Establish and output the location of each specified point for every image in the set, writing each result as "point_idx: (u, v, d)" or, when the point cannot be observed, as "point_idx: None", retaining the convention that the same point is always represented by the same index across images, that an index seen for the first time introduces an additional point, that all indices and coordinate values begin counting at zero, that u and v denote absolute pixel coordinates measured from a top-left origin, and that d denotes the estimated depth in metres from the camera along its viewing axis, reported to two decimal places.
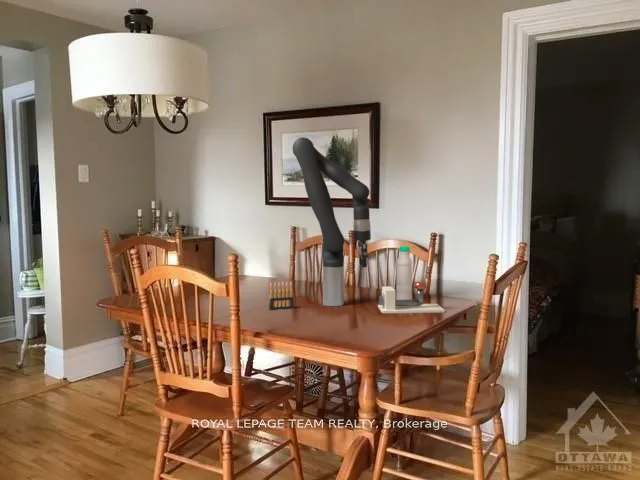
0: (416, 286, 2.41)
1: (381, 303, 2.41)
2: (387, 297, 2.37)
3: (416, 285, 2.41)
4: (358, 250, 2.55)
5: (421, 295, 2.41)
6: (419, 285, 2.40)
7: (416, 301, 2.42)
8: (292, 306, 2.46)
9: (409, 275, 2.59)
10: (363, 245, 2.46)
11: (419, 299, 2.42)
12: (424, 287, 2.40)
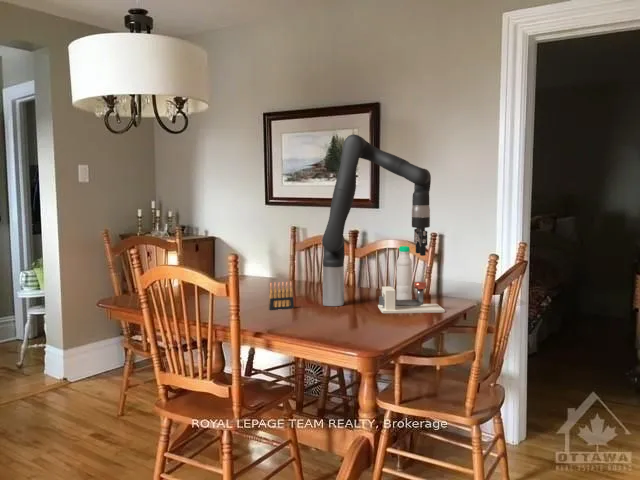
0: (416, 286, 2.41)
1: (381, 303, 2.41)
2: (387, 297, 2.37)
3: (416, 285, 2.41)
4: (415, 238, 2.43)
5: (421, 295, 2.41)
6: (419, 285, 2.40)
7: (416, 301, 2.42)
8: (292, 306, 2.46)
9: (409, 275, 2.59)
10: (423, 232, 2.33)
11: (419, 299, 2.42)
12: (424, 287, 2.40)
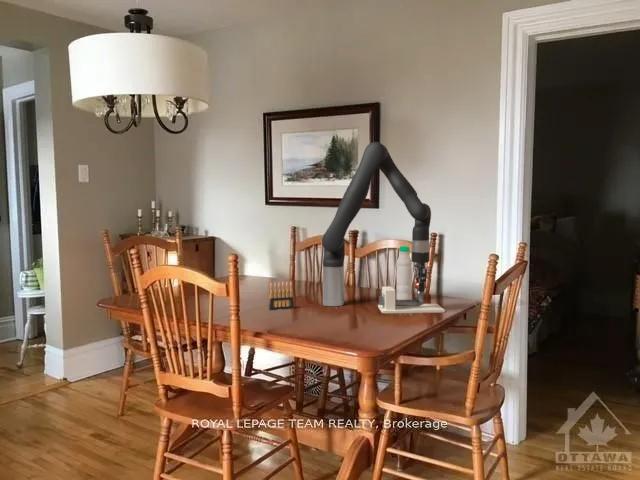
0: (416, 286, 2.41)
1: (381, 303, 2.41)
2: (387, 297, 2.37)
3: (416, 285, 2.41)
4: (415, 272, 2.43)
5: (421, 295, 2.41)
6: None
7: (416, 301, 2.42)
8: (292, 306, 2.46)
9: (409, 275, 2.59)
10: (423, 270, 2.35)
11: (419, 299, 2.42)
12: (424, 287, 2.40)
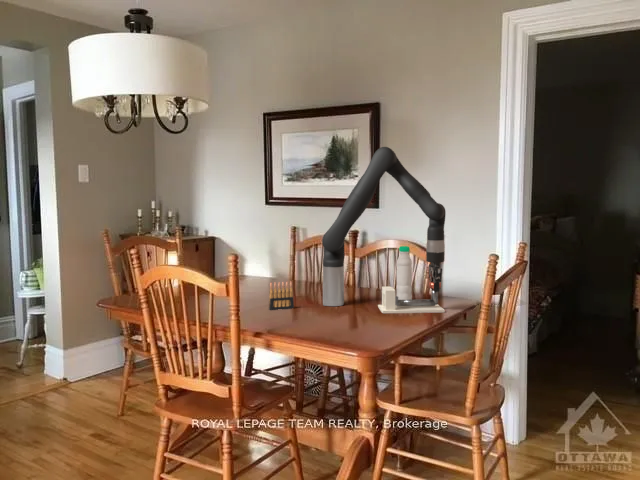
0: (431, 286, 2.41)
1: (396, 303, 2.42)
2: (387, 297, 2.37)
3: (431, 285, 2.41)
4: (430, 272, 2.43)
5: (436, 295, 2.42)
6: None
7: (431, 301, 2.42)
8: (292, 306, 2.46)
9: (409, 275, 2.59)
10: (438, 270, 2.35)
11: (434, 299, 2.42)
12: (439, 287, 2.41)
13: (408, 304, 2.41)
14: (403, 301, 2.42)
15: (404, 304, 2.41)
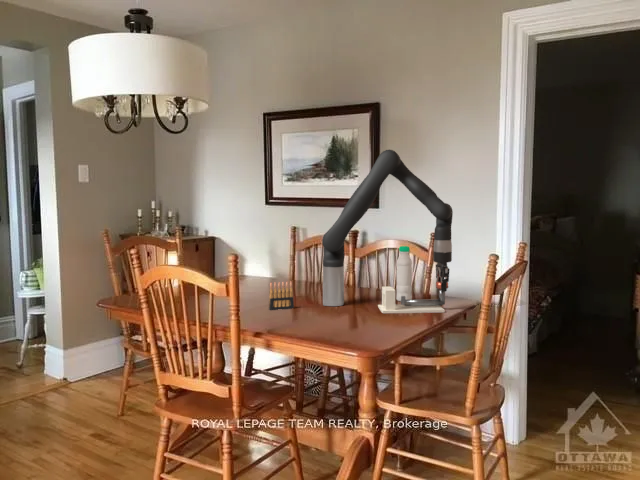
0: (438, 286, 2.41)
1: (403, 303, 2.42)
2: (387, 297, 2.37)
3: (438, 285, 2.41)
4: (437, 272, 2.44)
5: (443, 295, 2.42)
6: None
7: (438, 301, 2.42)
8: (292, 306, 2.46)
9: (409, 275, 2.59)
10: (445, 270, 2.35)
11: (441, 299, 2.42)
12: None
13: (415, 304, 2.42)
14: (411, 300, 2.42)
15: (411, 304, 2.42)
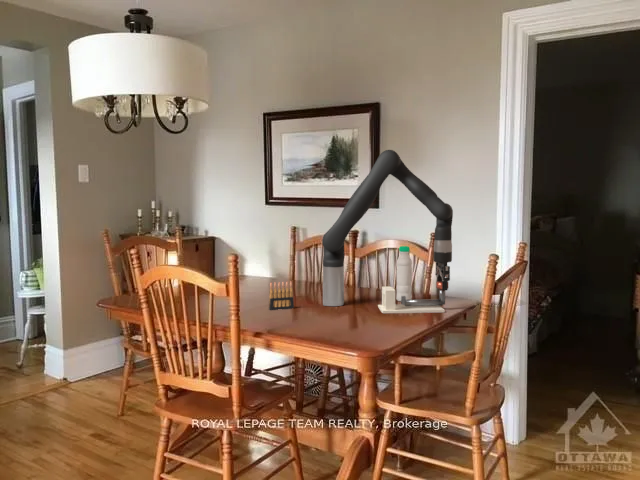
0: (438, 286, 2.41)
1: (403, 303, 2.42)
2: (387, 297, 2.37)
3: (438, 285, 2.41)
4: (437, 272, 2.44)
5: (443, 295, 2.42)
6: None
7: (438, 301, 2.42)
8: (292, 306, 2.46)
9: (409, 275, 2.59)
10: (446, 267, 2.35)
11: (441, 299, 2.42)
12: None
13: (415, 304, 2.42)
14: (411, 300, 2.42)
15: (412, 304, 2.42)
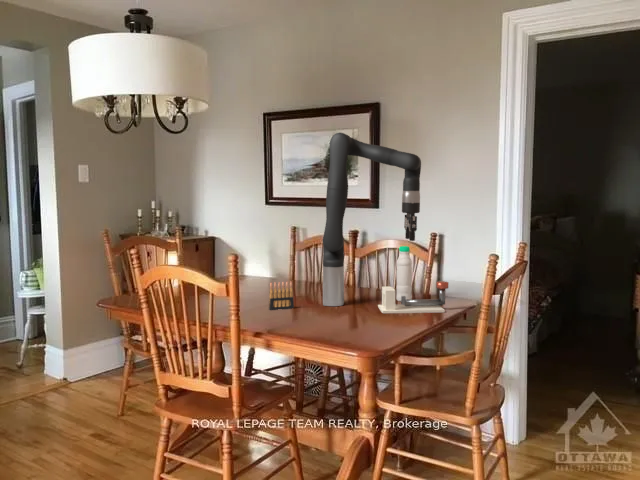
0: (438, 286, 2.41)
1: (403, 303, 2.42)
2: (387, 297, 2.37)
3: (438, 285, 2.41)
4: (405, 223, 2.45)
5: (443, 295, 2.42)
6: (442, 285, 2.40)
7: (438, 301, 2.42)
8: (292, 306, 2.46)
9: (409, 275, 2.59)
10: (413, 217, 2.36)
11: (441, 299, 2.42)
12: (446, 287, 2.41)
13: (415, 304, 2.42)
14: (411, 300, 2.42)
15: (412, 304, 2.42)
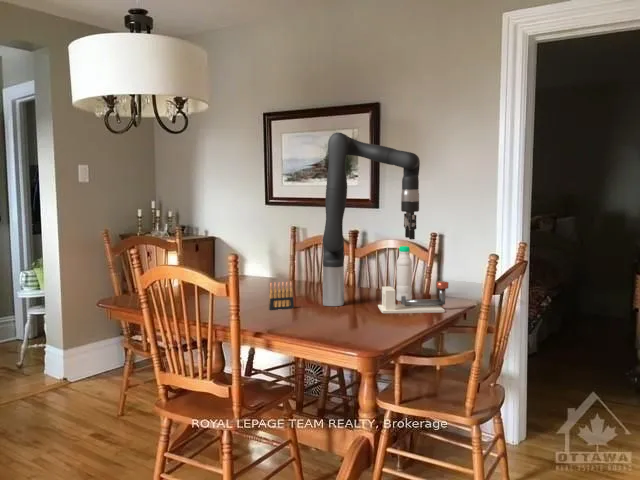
0: (438, 286, 2.41)
1: (403, 303, 2.42)
2: (387, 297, 2.37)
3: (438, 285, 2.41)
4: (405, 222, 2.45)
5: (443, 295, 2.42)
6: (442, 285, 2.40)
7: (438, 301, 2.42)
8: (292, 306, 2.46)
9: (409, 275, 2.59)
10: (412, 216, 2.36)
11: (441, 299, 2.42)
12: (446, 287, 2.41)
13: (415, 304, 2.42)
14: (411, 300, 2.42)
15: (412, 304, 2.42)
